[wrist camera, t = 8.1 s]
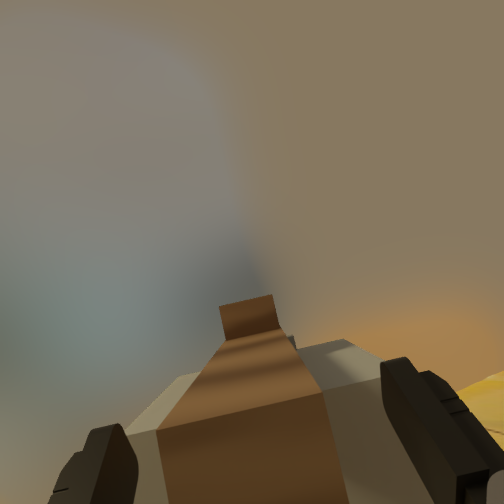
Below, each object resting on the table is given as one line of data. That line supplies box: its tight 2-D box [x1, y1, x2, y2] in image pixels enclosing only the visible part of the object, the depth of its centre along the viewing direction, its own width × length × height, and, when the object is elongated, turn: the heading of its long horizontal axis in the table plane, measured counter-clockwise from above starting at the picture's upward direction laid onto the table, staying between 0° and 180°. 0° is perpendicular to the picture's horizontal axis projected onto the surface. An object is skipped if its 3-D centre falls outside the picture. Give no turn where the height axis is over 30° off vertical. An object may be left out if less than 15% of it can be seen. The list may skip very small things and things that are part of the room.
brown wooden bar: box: [156, 295, 349, 504], centre depth 19 cm, size 21×4×5 cm, turn 179°
